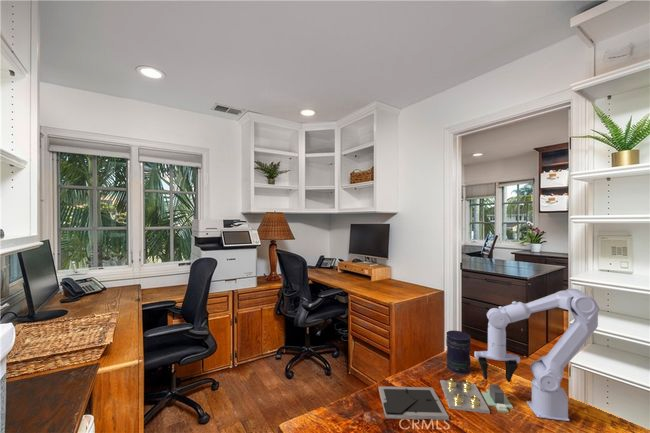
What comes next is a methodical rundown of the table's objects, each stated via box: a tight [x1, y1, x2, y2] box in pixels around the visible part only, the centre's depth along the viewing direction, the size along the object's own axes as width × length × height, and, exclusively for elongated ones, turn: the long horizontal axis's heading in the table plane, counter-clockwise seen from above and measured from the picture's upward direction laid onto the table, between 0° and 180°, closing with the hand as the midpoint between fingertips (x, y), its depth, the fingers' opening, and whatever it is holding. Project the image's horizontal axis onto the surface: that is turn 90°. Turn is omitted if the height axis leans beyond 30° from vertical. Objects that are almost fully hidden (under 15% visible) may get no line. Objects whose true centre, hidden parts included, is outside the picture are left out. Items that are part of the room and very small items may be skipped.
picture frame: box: [378, 385, 450, 421], centre depth 102 cm, size 16×3×21 cm
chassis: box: [439, 377, 491, 414], centre depth 106 cm, size 13×16×4 cm
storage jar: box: [445, 330, 472, 375], centre depth 126 cm, size 10×10×15 cm
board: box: [480, 383, 514, 413], centre depth 104 cm, size 8×12×5 cm, turn 169°
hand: (496, 379), depth 104 cm, fingers open, 7 cm apart
